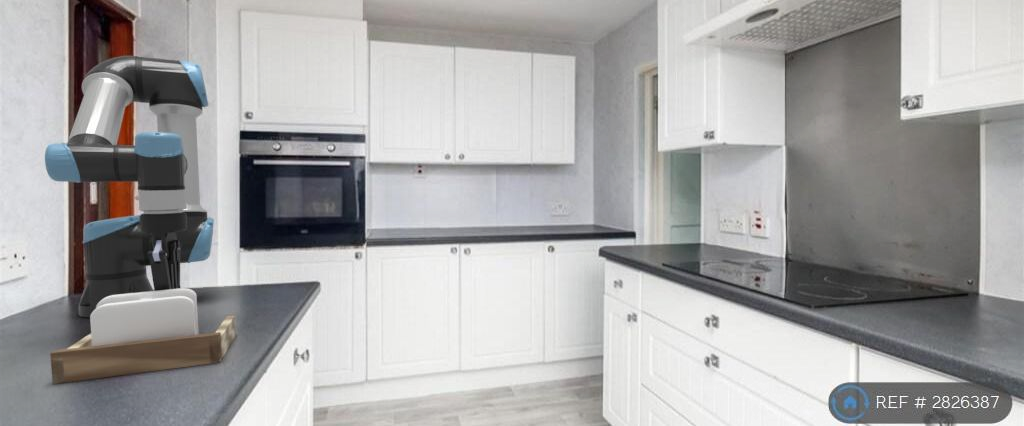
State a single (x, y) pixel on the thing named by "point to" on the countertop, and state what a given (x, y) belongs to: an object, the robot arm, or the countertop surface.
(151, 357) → the wooden tray
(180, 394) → the countertop surface
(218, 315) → the countertop surface
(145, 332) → the cable organizer
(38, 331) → the countertop surface
